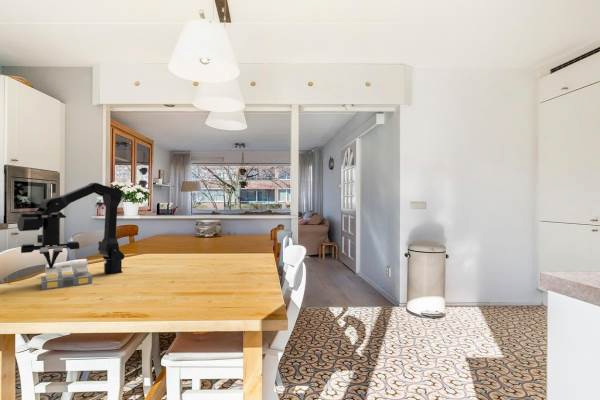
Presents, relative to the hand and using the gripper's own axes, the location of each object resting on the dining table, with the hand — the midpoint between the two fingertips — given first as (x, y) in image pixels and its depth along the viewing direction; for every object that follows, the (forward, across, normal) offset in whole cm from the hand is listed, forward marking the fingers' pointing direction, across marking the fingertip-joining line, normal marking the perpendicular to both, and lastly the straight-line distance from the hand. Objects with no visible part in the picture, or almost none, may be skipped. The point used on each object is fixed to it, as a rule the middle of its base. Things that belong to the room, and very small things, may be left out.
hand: (51, 268), depth 135 cm
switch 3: (+1, -10, +4) cm, 11 cm away
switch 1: (+1, 0, +4) cm, 4 cm away
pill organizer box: (+6, -5, +4) cm, 9 cm away
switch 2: (+1, -5, +4) cm, 6 cm away
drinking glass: (+4, +1, -16) cm, 17 cm away
